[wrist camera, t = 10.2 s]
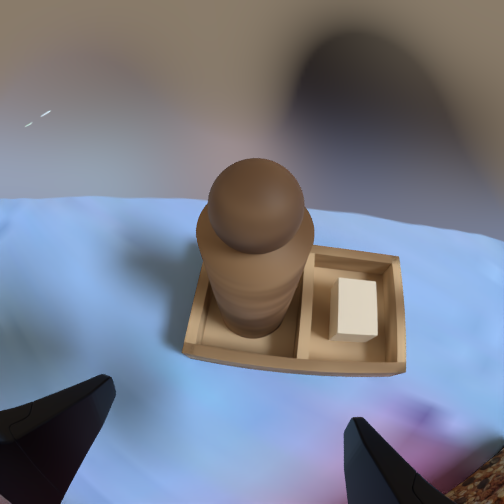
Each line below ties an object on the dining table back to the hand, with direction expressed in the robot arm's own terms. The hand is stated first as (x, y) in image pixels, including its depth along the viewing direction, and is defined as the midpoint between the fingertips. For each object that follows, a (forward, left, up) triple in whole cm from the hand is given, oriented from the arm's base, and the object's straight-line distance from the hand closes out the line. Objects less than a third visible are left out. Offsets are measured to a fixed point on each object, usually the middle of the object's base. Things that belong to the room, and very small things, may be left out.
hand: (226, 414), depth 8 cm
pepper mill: (+8, +1, -11) cm, 13 cm away
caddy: (+8, -3, -11) cm, 14 cm away
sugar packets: (+9, -7, -11) cm, 16 cm away
